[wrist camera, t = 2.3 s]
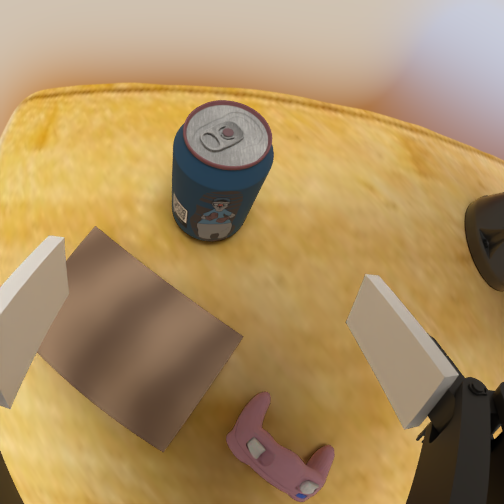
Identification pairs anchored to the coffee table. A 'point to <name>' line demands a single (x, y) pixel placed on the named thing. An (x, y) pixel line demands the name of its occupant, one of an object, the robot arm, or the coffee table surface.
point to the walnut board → (134, 341)
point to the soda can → (219, 168)
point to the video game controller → (276, 454)
